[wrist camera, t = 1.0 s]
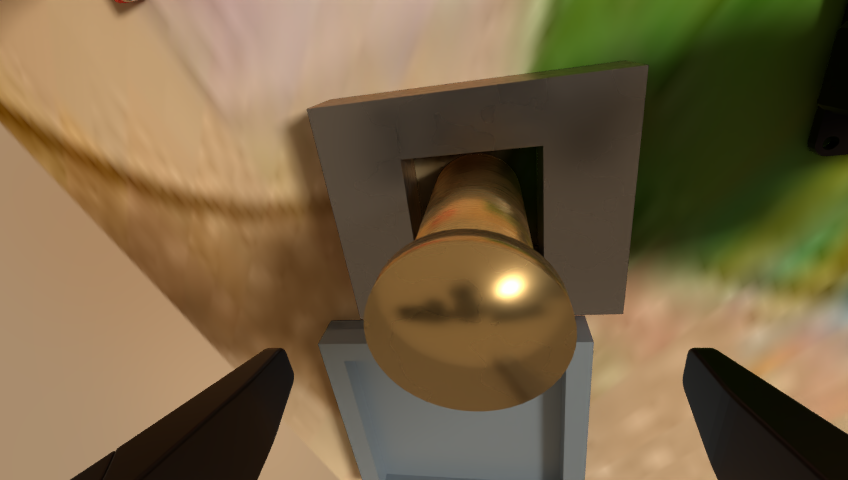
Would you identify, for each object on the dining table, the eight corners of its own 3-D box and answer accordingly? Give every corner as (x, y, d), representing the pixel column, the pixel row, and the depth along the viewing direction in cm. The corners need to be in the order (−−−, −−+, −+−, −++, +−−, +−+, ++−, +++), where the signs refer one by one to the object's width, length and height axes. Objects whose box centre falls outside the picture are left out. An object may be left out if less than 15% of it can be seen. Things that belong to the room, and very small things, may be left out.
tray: (584, 315, 20) (593, 342, 19) (576, 484, 27) (582, 515, 25) (331, 320, 23) (318, 344, 21) (376, 472, 29) (369, 500, 28)
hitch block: (625, 60, 15) (648, 64, 13) (608, 282, 19) (623, 313, 17) (329, 99, 17) (306, 108, 15) (373, 290, 22) (360, 319, 20)
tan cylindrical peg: (533, 133, 17) (581, 237, 8) (535, 242, 19) (573, 413, 10) (413, 146, 18) (342, 250, 9) (428, 248, 20) (383, 409, 11)
